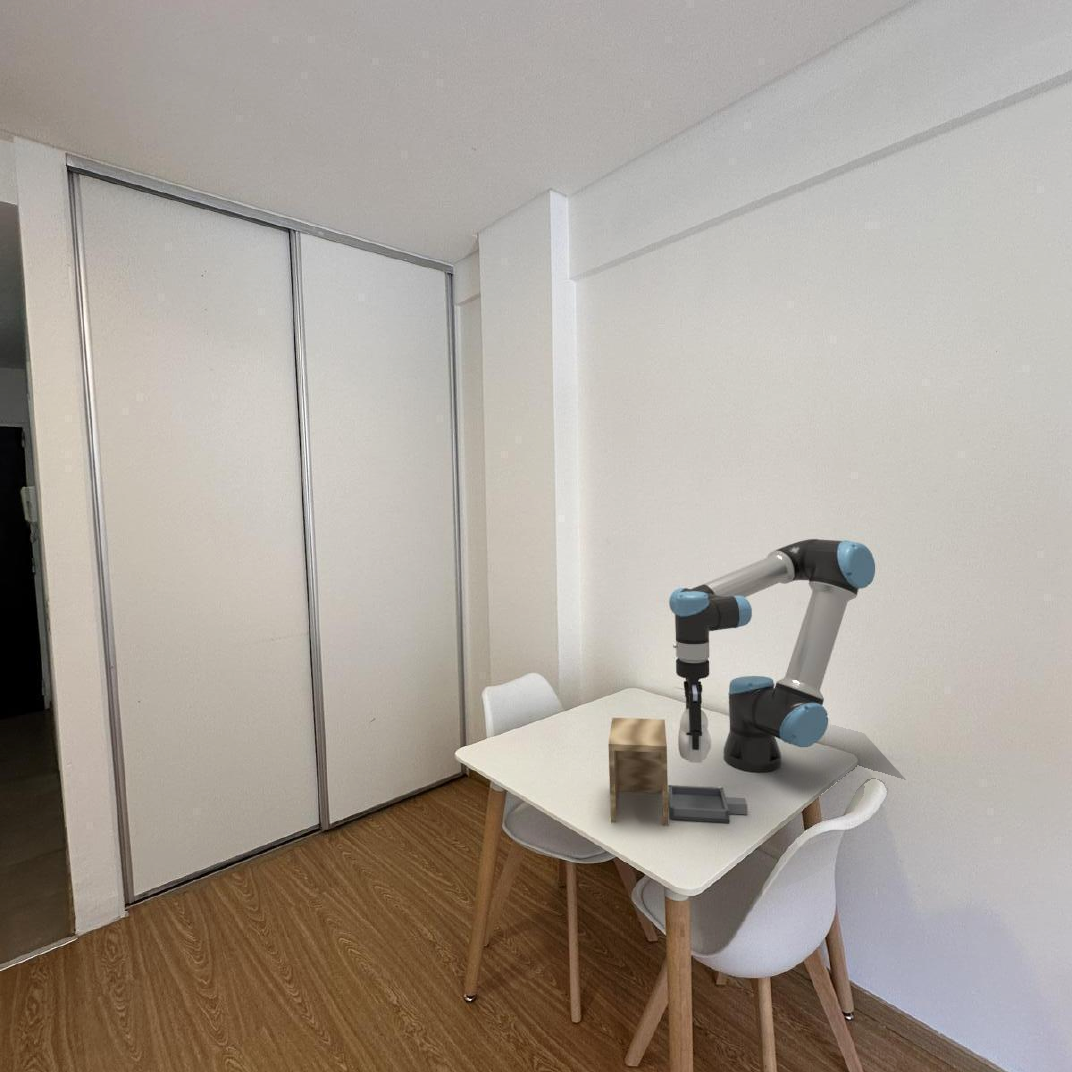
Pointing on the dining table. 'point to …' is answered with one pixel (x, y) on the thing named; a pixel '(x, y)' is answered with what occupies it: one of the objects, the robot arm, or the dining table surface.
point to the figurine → (684, 739)
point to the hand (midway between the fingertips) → (693, 753)
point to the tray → (703, 804)
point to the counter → (638, 760)
